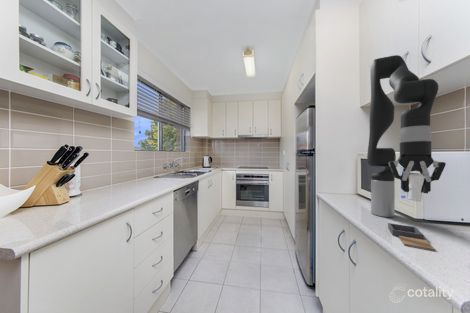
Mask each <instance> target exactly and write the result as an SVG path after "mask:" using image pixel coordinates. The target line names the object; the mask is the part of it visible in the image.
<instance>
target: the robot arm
mask: <svg viewBox="0 0 470 313" xmlns="http://www.w3.org/2000/svg"><path fill="white" fill-rule="evenodd" d="M369 72H370V104H369V105H370V107H369V136H368V137H369V138H368V145H367V146H368V147H367V156H366V158H367V159H366V160H367V164H368V165H369V166H370V167H384V169H383V170H380V171H378V172H374V173H372V174H371V175H370V213H371V214H372V215H375V216H379V217H383V218H384V217H385V218H394V217H395V216H396V214H395V212H396V211H395V210H396V207H395V206H396V204H395V203H396V202H395V200H396V199H395V198H396V197H395V196H396V195H395V179H397V180H400V189H401V191H403V193H407V192H408V181H407V178H408V175H409V174H410V173H412V172H418V173H419V174H423V175H424V176H425V182H424V187H423V192H422V194H426V195H427V194H428V193H430V192H431V191H432V186H431V185H432V184H431V183H432V182H435V181H439V180H440V179H441V176H442V175H443V172H444V169H445V167H446V165H447V163H446V162H443V161H437V160H434V158H433V157H432V139H433V137H432V130H431V112H432V109H433V105H434V101H435V99H436V97H437V95H438V91H439V84H438V82H437V81H436V80H435V79H433V78H426V79H420V78H419V76H418V75H416V74H415V73H414V72H413V71H411V70H410V69H409V68H408V66H407V64H406V61H405V60H404V58H403V57H402V56H401V55H398V54H394V55H390V56H383V57H378V58H375V59H373V60H372V62H371V65H370V71H369ZM384 79H388V84H389V86H390V88H391V89H392V90H394V91H393V99H394V101H395V102H396V103H397V104H412V103H418V106H417V107H415V108H411V109H406V110H404V111H402V112H401V113H400V130H399V132H400V133H399V158H398V159H396V158H397V156H396V150H395V149H394V148H393V147H378V144H379V142H380V139H381V138H382V137H383V135H384V134H385V133H386V132H387V130H388V129H389V128H390V127H391V125H392V124H393V122H394V120H395V105H394V103H393V101H392V100H391V99H390V98H389V97H388V95H387V94H386V93H385V90H384V89H383V88H382V84H381V80H384ZM377 147H378V148H377ZM399 165H400V166H401V167H402V168H403V169H402V171H401V175H400V174H399V172H398V169H397V167H399ZM431 165H433V168H434V169H433V171H432V174H431V176H430V172H429V170H428V168H430V167H431Z"/></svg>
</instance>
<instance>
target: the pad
mask: <svg viewBox="0 0 470 313" xmlns="http://www.w3.org/2000/svg"><path fill="white" fill-rule="evenodd" d="M398 239H399V240H400V241H401V243H402V244H403V246H406V247H411V248H412V247H413V248H416V249H420V250H421V249H422V250H427V251H433V252H435V251H436V249H435V247H433V245H432V244H430V242H428V240H427V239H424V240H422V239H416V238H410V237H404V236H398Z"/></svg>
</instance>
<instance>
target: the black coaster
mask: <svg viewBox="0 0 470 313" xmlns="http://www.w3.org/2000/svg"><path fill="white" fill-rule="evenodd" d="M387 228H388V230H389V232H390V233H391V235H392V236H395V237H399V236H404V237H410V238H416V239H422V240H425V239H424V234H423V232H421V231H420V230H419V228H418V227H417V226H411V225H406V224H405V225H404V224H396V223H392V222H391V223H390V222H388V223H387Z"/></svg>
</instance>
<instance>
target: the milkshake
mask: <svg viewBox="0 0 470 313" xmlns="http://www.w3.org/2000/svg"><path fill="white" fill-rule="evenodd" d="M407 181H408V192H406V200H408V201H412V202H413V201H414V202H422V197H423V187H424V182H425V176H424V175H423V174H420V172H418V173H417V172H410V174H409V175H408V178H407Z"/></svg>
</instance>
